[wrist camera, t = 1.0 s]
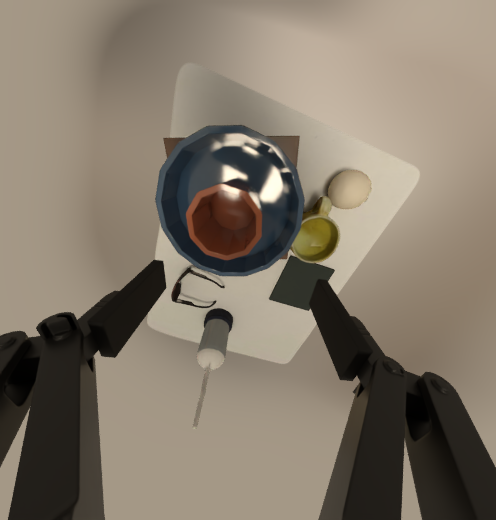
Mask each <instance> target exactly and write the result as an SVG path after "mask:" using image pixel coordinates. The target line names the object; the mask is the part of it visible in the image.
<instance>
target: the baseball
mask: <svg viewBox="0 0 496 520" xmlns="http://www.w3.org/2000/svg"><path fill="white" fill-rule="evenodd" d="M371 190H372V188H371V181H370V179H369V178H368V176H367V175H366V174H364V173H363V172H361V171H357V170H347V171H344V172H342V173H340V174H338V175H337V176H336V177H335V178H334V179H333V181H332V182H331V184H330V186H329V189H328V198H329V199H330V200H331V204H332V205H334V206H335V207H337V208H340V209H353V208H355V207H358V206H360V205H361V204H362V203H363V202H365V201H366V200H367V199H368V198H367V197H368V195H369V193H370V192H371Z"/></svg>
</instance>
